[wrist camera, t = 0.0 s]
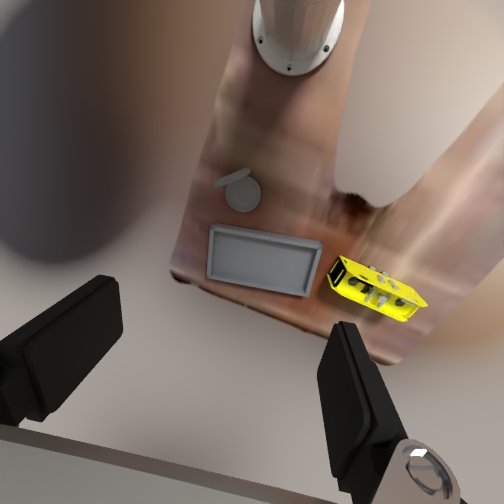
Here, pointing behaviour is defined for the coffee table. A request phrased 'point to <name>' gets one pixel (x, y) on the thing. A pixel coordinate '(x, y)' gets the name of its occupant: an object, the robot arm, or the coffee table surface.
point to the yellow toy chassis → (374, 289)
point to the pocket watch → (240, 190)
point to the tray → (262, 259)
